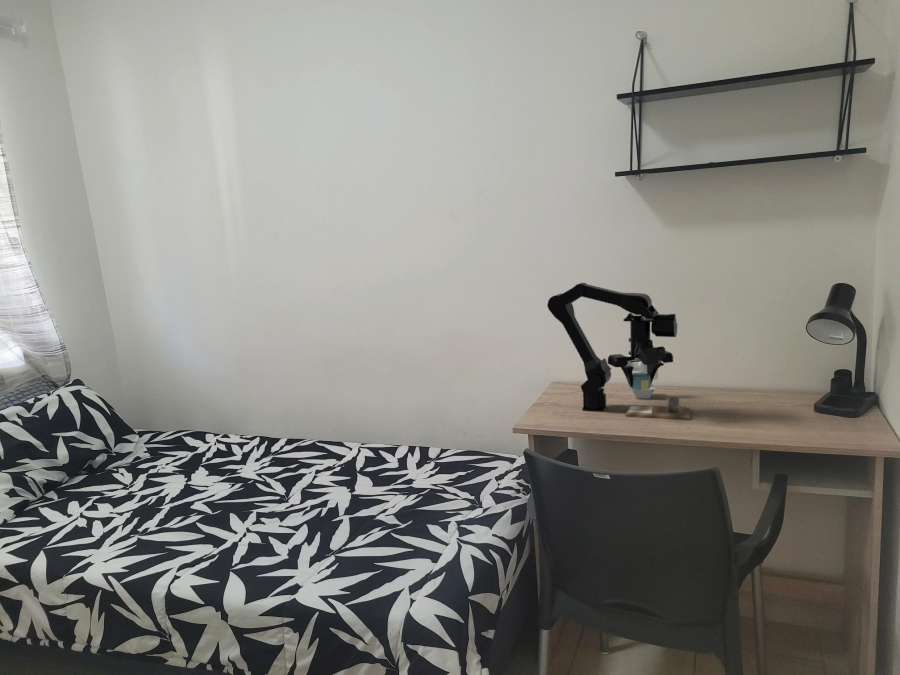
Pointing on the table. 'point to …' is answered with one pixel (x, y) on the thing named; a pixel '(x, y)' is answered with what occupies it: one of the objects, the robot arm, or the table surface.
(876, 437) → the table surface
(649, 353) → the robot arm
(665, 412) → the board
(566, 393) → the table surface
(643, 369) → the figurine
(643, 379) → the cap
